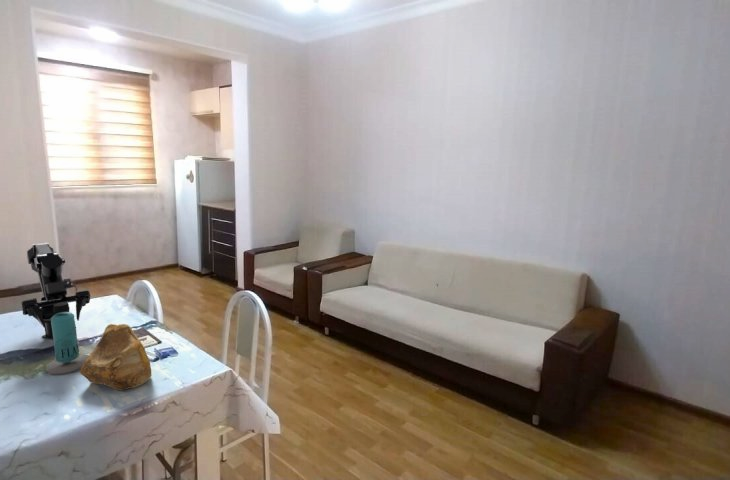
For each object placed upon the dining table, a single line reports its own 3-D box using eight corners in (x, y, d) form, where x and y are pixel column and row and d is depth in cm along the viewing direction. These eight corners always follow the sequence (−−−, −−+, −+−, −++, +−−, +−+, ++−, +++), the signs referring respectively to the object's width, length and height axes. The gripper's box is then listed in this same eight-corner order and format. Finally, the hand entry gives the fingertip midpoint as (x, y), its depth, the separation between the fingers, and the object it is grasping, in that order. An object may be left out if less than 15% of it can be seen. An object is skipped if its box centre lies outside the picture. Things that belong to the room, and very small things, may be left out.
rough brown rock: (77, 376, 131) (66, 333, 127) (134, 356, 142) (126, 315, 138) (95, 411, 115) (84, 363, 111) (158, 384, 126) (150, 339, 122)
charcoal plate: (36, 373, 131) (36, 369, 131) (68, 355, 143) (68, 352, 142) (70, 376, 129) (69, 373, 129) (100, 358, 141) (99, 355, 141)
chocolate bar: (143, 327, 166) (161, 341, 154) (143, 330, 166) (161, 343, 154) (118, 334, 159) (135, 348, 147) (118, 336, 160) (135, 351, 148)
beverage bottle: (60, 369, 131) (52, 308, 128) (52, 363, 135) (44, 304, 131) (83, 361, 136) (76, 303, 133) (75, 355, 140) (68, 298, 137)
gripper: (17, 276, 134) (24, 319, 128) (86, 267, 146) (95, 305, 141) (19, 294, 141) (26, 335, 135) (84, 283, 154) (93, 321, 148)
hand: (61, 323), depth 140 cm, fingers open, 9 cm apart
